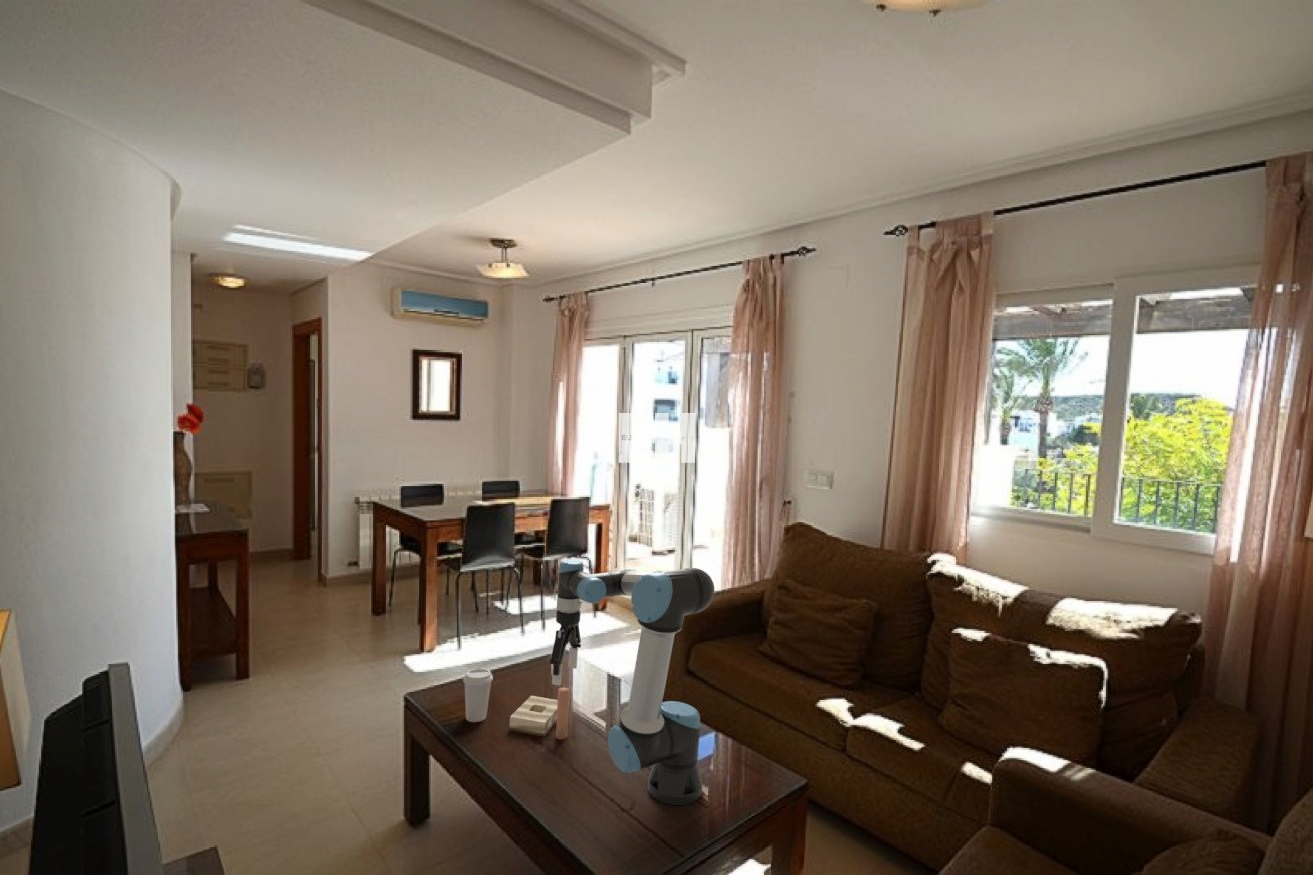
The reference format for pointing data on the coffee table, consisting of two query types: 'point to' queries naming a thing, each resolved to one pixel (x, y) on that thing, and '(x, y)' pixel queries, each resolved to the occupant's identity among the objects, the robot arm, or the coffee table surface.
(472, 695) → the coffee cup
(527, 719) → the bore block
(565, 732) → the pin
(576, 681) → the coffee table surface
